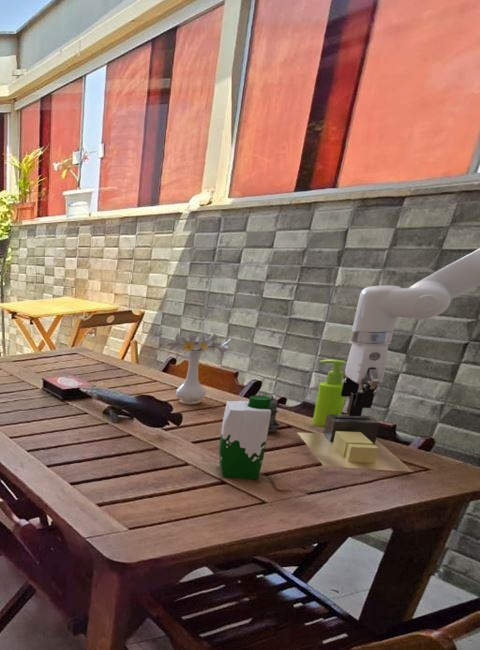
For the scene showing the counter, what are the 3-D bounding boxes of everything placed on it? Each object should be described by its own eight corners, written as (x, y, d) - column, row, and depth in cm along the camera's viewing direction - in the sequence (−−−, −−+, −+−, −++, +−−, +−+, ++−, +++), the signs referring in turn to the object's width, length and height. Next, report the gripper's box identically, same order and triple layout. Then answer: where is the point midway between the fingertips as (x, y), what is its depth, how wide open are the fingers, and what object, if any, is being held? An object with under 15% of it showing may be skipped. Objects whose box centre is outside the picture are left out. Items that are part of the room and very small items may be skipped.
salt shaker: (252, 430, 147) (258, 392, 143) (277, 432, 144) (284, 393, 140) (254, 437, 143) (260, 398, 139) (280, 439, 140) (287, 399, 136)
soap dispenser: (309, 422, 148) (322, 357, 142) (340, 426, 143) (354, 359, 137) (304, 427, 145) (317, 361, 138) (335, 432, 140) (350, 363, 133)
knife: (361, 438, 132) (372, 392, 127) (364, 441, 130) (375, 394, 126) (332, 437, 134) (342, 392, 130) (334, 440, 133) (344, 394, 128)
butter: (357, 446, 128) (360, 432, 126) (369, 458, 121) (373, 443, 120) (332, 445, 130) (335, 431, 129) (343, 456, 123) (346, 442, 122)
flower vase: (226, 407, 168) (236, 334, 160) (165, 407, 175) (171, 337, 167) (217, 396, 179) (225, 327, 171) (160, 396, 186) (165, 330, 178)
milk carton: (263, 481, 119) (276, 403, 112) (218, 478, 123) (228, 402, 116) (256, 467, 126) (269, 392, 119) (214, 464, 130) (224, 391, 123)
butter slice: (371, 460, 120) (375, 445, 119) (375, 463, 118) (378, 448, 117) (344, 458, 122) (348, 443, 121) (347, 461, 121) (351, 446, 119)
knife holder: (365, 436, 133) (370, 415, 131) (374, 444, 128) (380, 422, 126) (323, 434, 137) (327, 414, 135) (330, 442, 132) (334, 421, 130)
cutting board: (370, 439, 133) (371, 435, 133) (412, 476, 113) (413, 471, 113) (296, 436, 140) (297, 432, 140) (323, 470, 120) (324, 466, 120)
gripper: (407, 343, 114) (388, 412, 120) (376, 330, 128) (361, 392, 134) (364, 344, 117) (348, 411, 123) (339, 331, 132) (326, 392, 138)
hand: (355, 401), depth 129 cm, fingers open, 9 cm apart
